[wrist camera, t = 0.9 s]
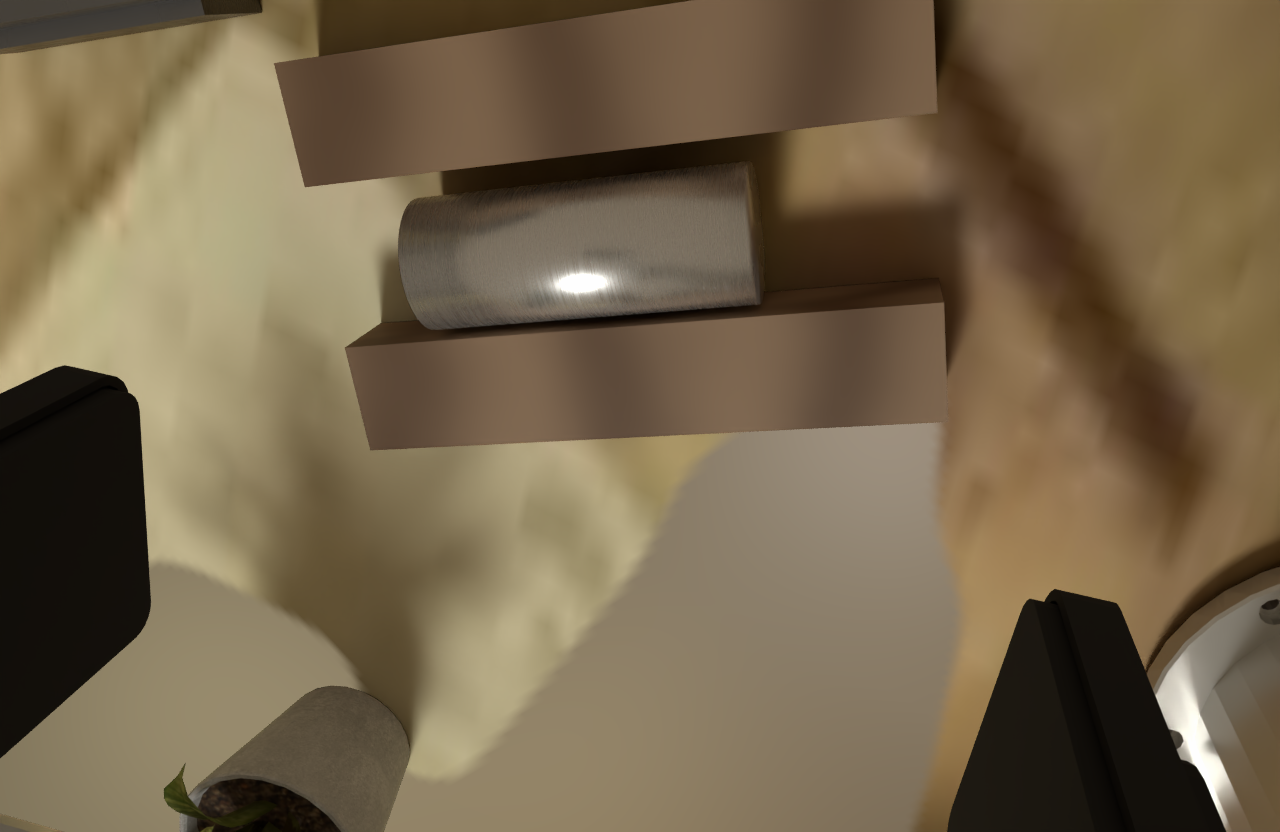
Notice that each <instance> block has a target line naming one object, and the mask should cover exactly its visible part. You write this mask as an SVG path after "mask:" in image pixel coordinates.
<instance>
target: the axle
mask: <svg viewBox="0 0 1280 832" xmlns="http://www.w3.org/2000/svg"><path fill="white" fill-rule="evenodd" d="M398 257H399V267H400V274H401V279H402V283H403V287H404V291H405V294H406V297H407V300H408V302H409V305H410V307H411V309H412V311H413V313H414V314H415V316H416V317H417V319H418V320H419V321H420V322H421V324H423V325H424V326H425V327H427V328H428V329H431V330H441V329H454V328H466V327H479V326H492V325H505V324H517V323H530V322H543V321H555V320H568V319H581V318H594V317H606V316H619V315H632V314H645V313H657V312H670V311H683V310H695V309H708V308H721V307H734V306H746V305H759V304H761V303H762V301H763V296H764V285H765V253H764V239H763V228H762V218H761V208H760V197H759V190H758V184H757V179H756V174H755V170H754V167H753V164H752V162H751V161H744V162H735V163H726V164H717V165H708V166H699V167H690V168H681V169H672V170H663V171H654V172H645V173H636V174H627V175H618V176H610V177H601V178H592V179H583V180H574V181H565V182H556V183H547V184H538V185H529V186H520V187H511V188H502V189H493V190H484V191H475V192H466V193H457V194H448V195H439V196H431V197H422V198H416V199H414V200H412V201H411V202H410V203H409V204H408V206H407V207H406V209H405V211H404V214H403V216H402V220H401V224H400V229H399V238H398Z"/></svg>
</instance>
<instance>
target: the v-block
mask: <svg viewBox="0 0 1280 832" xmlns="http://www.w3.org/2000/svg"><path fill="white" fill-rule="evenodd" d="M257 13H262V11H261V7H260V3H259V0H0V54H8V53H19V52H25V51H31V50H37V49H44V48H50V47H56V46H62V45H68V44H74V43H80V42H86V41H92V40H98V39H104V38H111V37H117V36H123V35H129V34H135V33H141V32H147V31H153V30H159V29H165V28H171V27H178V26H184V25H190V24H196V23H202V22H208V21H214V20H220V19H226V18H232V17H238V16H245V15H251V14H257Z"/></svg>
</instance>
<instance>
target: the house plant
mask: <svg viewBox="0 0 1280 832" xmlns="http://www.w3.org/2000/svg"><path fill="white" fill-rule="evenodd" d="M409 752H410V749H409V744H408V739H407V735H406V733H405V731H404V729H403V727H402V725H401V723H400V722H399V721H398V719H397V718H396V717H395V716H394V714H393V713H392V712H391V711H390V710H389V709H388V708H387V707H386V706H384V705H383V704H382V703H381V702H380V701H378V700H377V699H375V698H373V697H371V696H370V695H368V694H366V693H364V692H362V691H359V690H355V689H352V688H348V687H341V686H327V687H322V688H317V689H315V690H313V691H311V692H309V693H307V694H305V695H304V696H303V697H301V698H300V699H299V700H298V701H297V702H296V703H294V704H293V705H292V706H291V707H290V708H289V709H287V710H286V711H285V712H284V713H282V714H281V715H280V716H279V717H278V718H277V719H275V720H274V721H273V722H272V723H271V724H269V725H268V726H267V727H266V728H265V729H264V730H262V731H261V732H260V733H259V734H257V735H256V736H255V737H254V738H253V739H251V740H250V741H249V742H248V743H247V744H246V745H244V746H243V747H242V748H241V749H240V750H239V751H237V752H236V753H235V754H234V755H232V756H231V757H230V758H229V759H228V760H227V761H225V762H224V763H223V764H222V765H221V766H219V767H218V768H217V769H216V770H215V771H213V773H211V774H210V775H209V776H208V777H206V778H205V779H204V780H203V781H201V782H200V783H199V784H198V785H197V786H196V787H195V788H194V789H193V791H192V792H191V793H190V794H189V795H187V792H186V789H185V785H184V782H183V779H182V776H183V772H184V767H185V764H184V766H183V768H182V770H181V771H180V773H179V774H178V776H177V777H176V778H175V779H174V780H173V781H172V782H171V783H170V784H169V785H167V786H166V787H165V788H164V799H165V801H166V802H167V804H168V806H170V807H171V808H173V809H174V810H176V811H177V812H179V813H180V832H384V830H385V826H386V824H387V821H388V819H389V816H390V813H391V810H392V807H393V804H394V801H395V799H396V796H397V793H398V790H399V787H400V785H401V781H402V779H403V776H404V773H405V770H406V768H407V765H408V760H409Z"/></svg>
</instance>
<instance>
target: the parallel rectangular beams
mask: <svg viewBox="0 0 1280 832" xmlns="http://www.w3.org/2000/svg"><path fill="white" fill-rule="evenodd" d="M274 65H275V69H276V73H277V77H278V81H279V85H280V89H281V93H282V97H283V101H284V105H285V109H286V113H287V117H288V121H289V125H290V129H291V133H292V137H293V141H294V146H295V150H296V154H297V158H298V162H299V166H300V170H301V174H302V178H303V182H304V186H305V187H311V186H319V185H328V184H336V183H345V182H353V181H362V180H370V179H379V178H387V177H396V176H404V175H413V174H421V173H430V172H438V171H447V170H455V169H464V168H472V167H481V166H489V165H498V164H506V163H515V162H523V161H532V160H540V159H549V158H557V157H566V156H574V155H583V154H591V153H600V152H608V151H617V150H625V149H634V148H642V147H651V146H659V145H668V144H676V143H685V142H693V141H702V140H710V139H719V138H727V137H736V136H744V135H753V134H761V133H770V132H778V131H787V130H795V129H804V128H812V127H821V126H829V125H838V124H846V123H855V122H863V121H872V120H880V119H889V118H897V117H906V116H914V115H923V114H931V113H937V87H936V58H935V30H934V1H933V0H691V1H685V2H678V3H671V4H665V5H658V6H651V7H645V8H638V9H631V10H625V11H618V12H612V13H605V14H598V15H592V16H585V17H578V18H572V19H565V20H558V21H552V22H545V23H538V24H532V25H525V26H519V27H512V28H505V29H499V30H492V31H485V32H479V33H472V34H465V35H459V36H452V37H445V38H439V39H432V40H426V41H419V42H412V43H406V44H399V45H392V46H386V47H379V48H372V49H366V50H359V51H352V52H346V53H339V54H333V55H326V56H319V57H313V58H306V59H299V60H293V61H286V62H279V63H274ZM345 350H346V354H347V358H348V362H349V366H350V370H351V374H352V378H353V382H354V386H355V390H356V394H357V398H358V402H359V406H360V410H361V414H362V418H363V422H364V426H365V430H366V434H367V438H368V442H369V446H370V450H387V449H407V448H427V447H447V446H468V445H488V444H508V443H528V442H549V441H569V440H589V439H610V438H630V437H650V436H670V435H691V434H711V433H731V432H751V431H770V430H771V431H772V430H792V429H812V428H830V427H831V428H832V427H852V426H873V425H893V424H913V423H934V422H948V400H947V372H946V343H945V315H944V300H943V296H942V291H941V287H940V282H939V278H934V279H921V280H909V281H897V282H884V283H872V284H860V285H848V286H835V287H823V288H811V289H798V290H786V291H774V292H764V296H763V301H762V303H761V304H759V305H746V306H734V307H721V308H708V309H695V310H683V311H670V312H657V313H645V314H632V315H619V316H606V317H594V318H581V319H568V320H555V321H543V322H530V323H517V324H505V325H492V326H479V327H466V328H454V329H441V330H431V329H428V328H427V327H425V326H424V325H423V324H421V322H420V321H419V320H416V321H404V322H392V323H380V324H379V325H377V326H376V327H375V328H373V329H372V330H370V331H369V332H367V333H366V334H364V335H363V336H361V337H360V338H359V339H357V340H356V341H354V342H353V343H351V344H350V345H348V346H347V347H345Z"/></svg>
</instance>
